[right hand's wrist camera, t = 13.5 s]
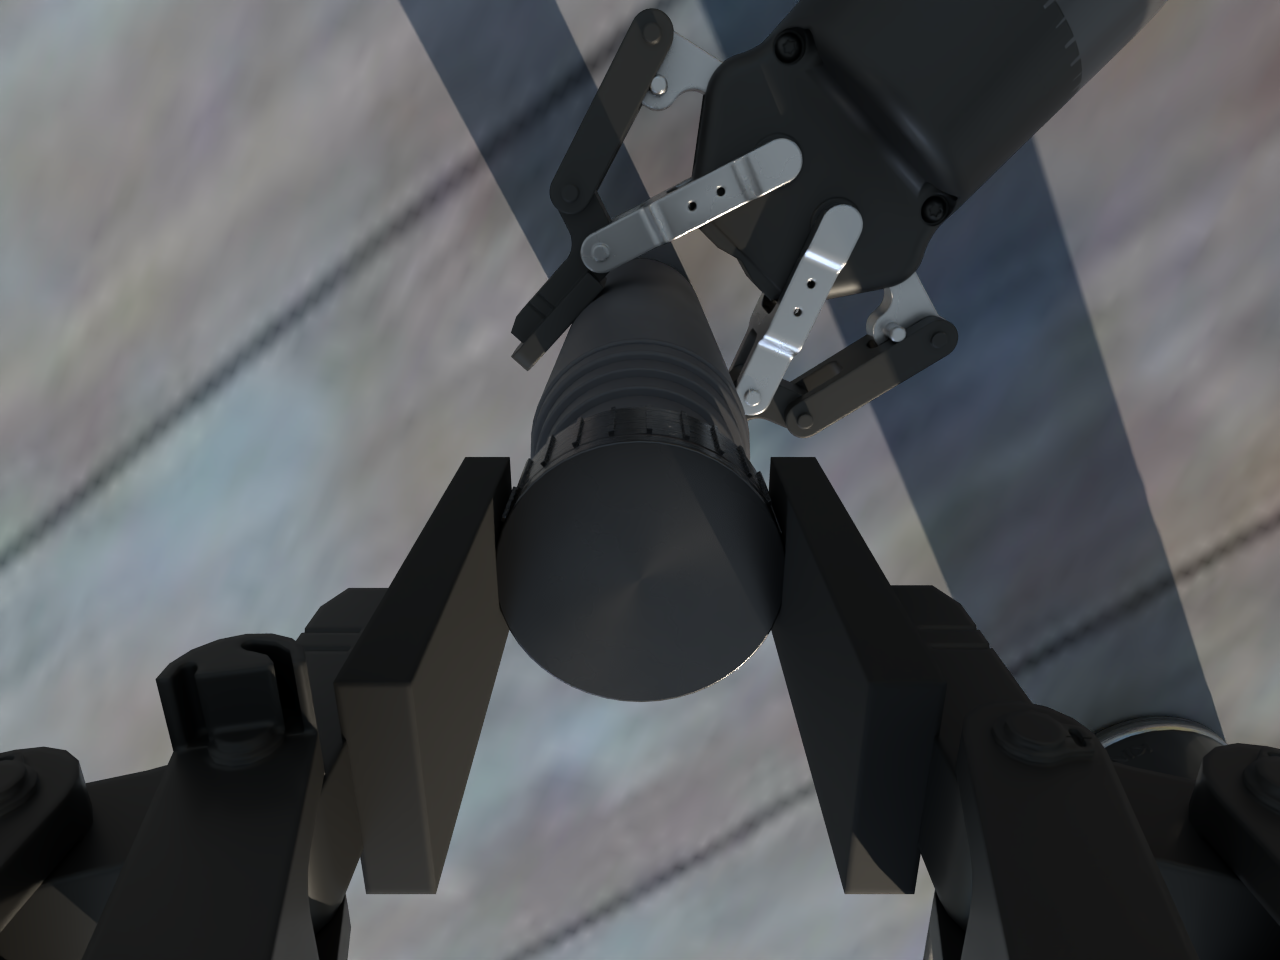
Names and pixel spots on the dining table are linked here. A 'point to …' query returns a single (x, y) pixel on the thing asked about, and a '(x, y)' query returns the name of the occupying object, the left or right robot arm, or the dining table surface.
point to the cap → (640, 556)
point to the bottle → (641, 357)
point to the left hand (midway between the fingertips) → (587, 414)
